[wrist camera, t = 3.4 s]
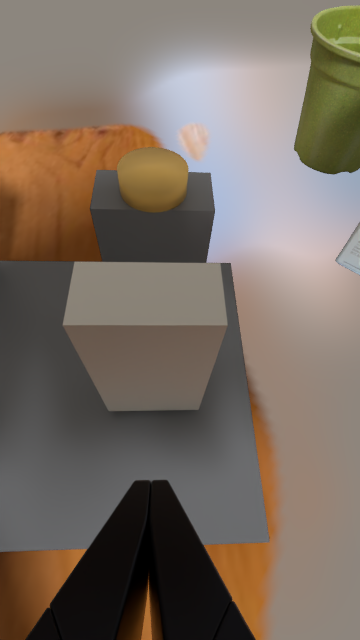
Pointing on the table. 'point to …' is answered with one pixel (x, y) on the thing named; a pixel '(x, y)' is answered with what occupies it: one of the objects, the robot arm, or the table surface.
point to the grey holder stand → (85, 401)
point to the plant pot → (332, 94)
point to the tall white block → (147, 330)
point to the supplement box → (351, 252)
